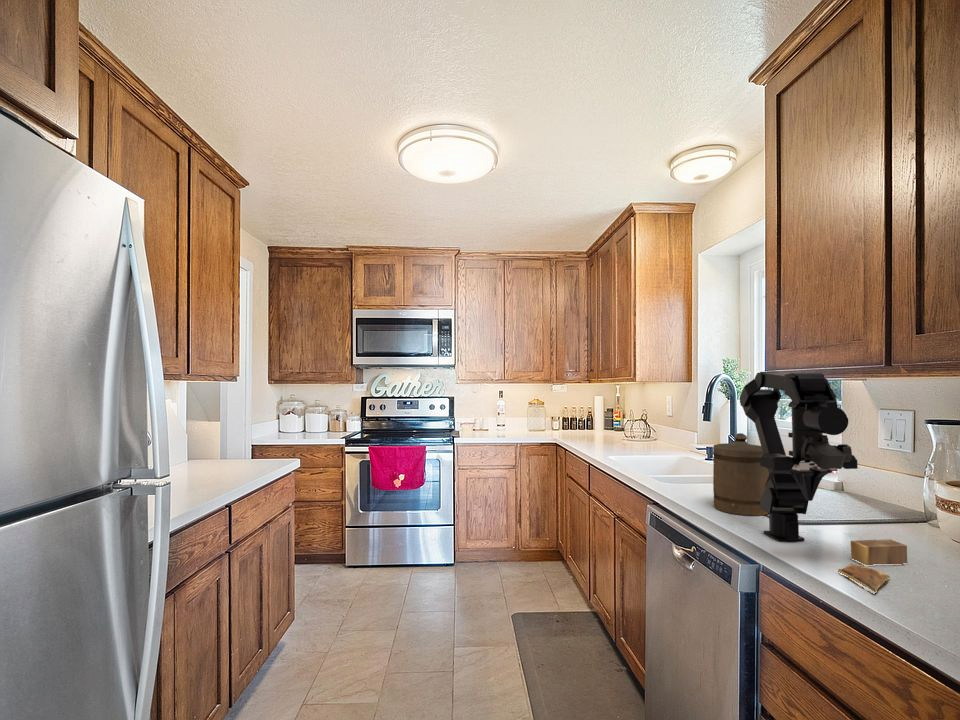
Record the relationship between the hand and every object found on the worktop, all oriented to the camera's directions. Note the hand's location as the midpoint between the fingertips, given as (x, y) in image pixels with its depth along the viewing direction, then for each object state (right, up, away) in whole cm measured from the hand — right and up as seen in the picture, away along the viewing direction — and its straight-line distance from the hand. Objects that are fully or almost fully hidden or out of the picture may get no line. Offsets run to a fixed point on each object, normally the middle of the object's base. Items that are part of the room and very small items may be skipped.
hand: (808, 500), depth 113 cm
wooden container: (+4, -13, +37) cm, 39 cm away
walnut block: (+7, -10, -5) cm, 13 cm away
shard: (+3, -12, -14) cm, 19 cm away
